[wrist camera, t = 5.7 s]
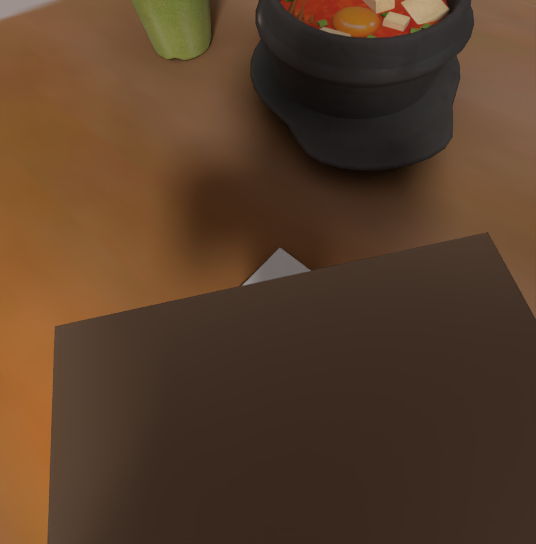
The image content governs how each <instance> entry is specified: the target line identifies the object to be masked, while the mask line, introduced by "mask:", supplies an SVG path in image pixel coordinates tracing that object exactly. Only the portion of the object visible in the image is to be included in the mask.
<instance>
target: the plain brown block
mask: <svg viewBox="0 0 536 544" xmlns="http://www.w3.org/2000/svg"><path fill="white" fill-rule="evenodd" d="M48 544H536V319H535V317H534V315H533V313H532V312H531V310H530V308H529V306H528V304H527V303H526V301H525V299H524V297H523V295H522V293H521V292H520V290H519V288H518V286H517V284H516V283H515V281H514V279H513V277H512V275H511V274H510V272H509V270H508V268H507V266H506V264H505V263H504V261H503V259H502V257H501V255H500V254H499V252H498V250H497V248H496V246H495V245H494V243H493V241H492V239H491V237H490V235H489V234H488V232H487V233H482V234H478V235H473V236H469V237H464V238H459V239H455V240H450V241H446V242H441V243H436V244H432V245H427V246H423V247H418V248H413V249H409V250H404V251H400V252H395V253H390V254H386V255H381V256H377V257H372V258H367V259H363V260H358V261H354V262H349V263H344V264H340V265H335V266H331V267H326V268H321V269H317V270H312V271H308V272H303V273H298V274H294V275H289V276H285V277H280V278H275V279H271V280H266V281H262V282H257V283H253V284H248V285H243V286H239V287H234V288H230V289H225V290H220V291H216V292H211V293H207V294H202V295H197V296H193V297H188V298H184V299H179V300H174V301H170V302H165V303H161V304H156V305H151V306H147V307H142V308H138V309H133V310H128V311H124V312H119V313H115V314H110V315H105V316H101V317H96V318H92V319H87V320H82V321H78V322H73V323H69V324H64V325H59V326H55V339H54V368H53V398H52V427H51V457H50V486H49V515H48Z"/></svg>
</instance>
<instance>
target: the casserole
mask: <svg viewBox="0 0 536 544" xmlns="http://www.w3.org/2000/svg"><path fill="white" fill-rule="evenodd" d="M470 5H471V0H259V3H258V6H257V9H256V26H257V29H258V32H259V35H260V37H261V40H260V42H259V43H258V45H257V46H256V48H255V50H254V53H253V56H252V59H251V78H252V82H253V85H254V89H255V90H256V92H257V93H258V95H259V97H260V98H261V100H262V101H263V102H264V103H265V104H266V105H267V106H268V107H269V108H270V109H271V110H272V111H273V112H274V113H275V114H276V115H277V116H278V117H279V118H280V119H281V120H282V121H283V122H284V123H285V124H286V125H287V126H288V128H289V129H290V131H291V132H292V134H293V136H294V137H295V139H296V140H297V142H298V143H299V144H300V146H301V147H302V149H303V150H304V151H305V153H306V154H307V155H309V156H310V157H312V158H314V159H315V160H317V161H318V162H320V163H322V164H326V165H329V166H333V167H336V168H340V169H349V170H359V171H374V170H390V169H395V168H400V167H405V166H410V165H413V164H415V163H418V162H421V161H423V160H426V159H429V158H431V157H432V156H434V155H436V154H437V153H439V152H440V151H442V150H443V149H445V147H446V146H447V144H448V143H449V141H450V140H451V138H452V134H453V109H452V105H453V102H454V98H455V95H456V91H457V88H458V84H459V81H460V65H459V62H458V59H457V56H456V55H457V54H458V53H460V52H461V51H462V50H463V48H464V47H465V45H466V44H467V42H468V40H469V39H470V37H471V34H472V30H473V26H474V18H473V10H472V8H471V6H470Z"/></svg>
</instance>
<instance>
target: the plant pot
mask: <svg viewBox="0 0 536 544" xmlns="http://www.w3.org/2000/svg"><path fill="white" fill-rule="evenodd" d="M131 1H132V3H133V5H134V7H135V9H136V11H137V13H138V15H139V17H140V19H141V21H142V24H143V26H144V28H145V30H146V32H147V34H148V36H149V38H150V40H151V42H152V44H153V47H154V49H155V51H156V52H157V53H158V54H159V55H160V56H162V57H163V58H166V59H172V58H178V59H181V60H189V59H192V58H195V57H197V56H199V55H201V54H202V53H204V52H205V51H206V50H207V49H208V47H209V44H210V41H211V38H212V35H211V17H210V0H131Z"/></svg>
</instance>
